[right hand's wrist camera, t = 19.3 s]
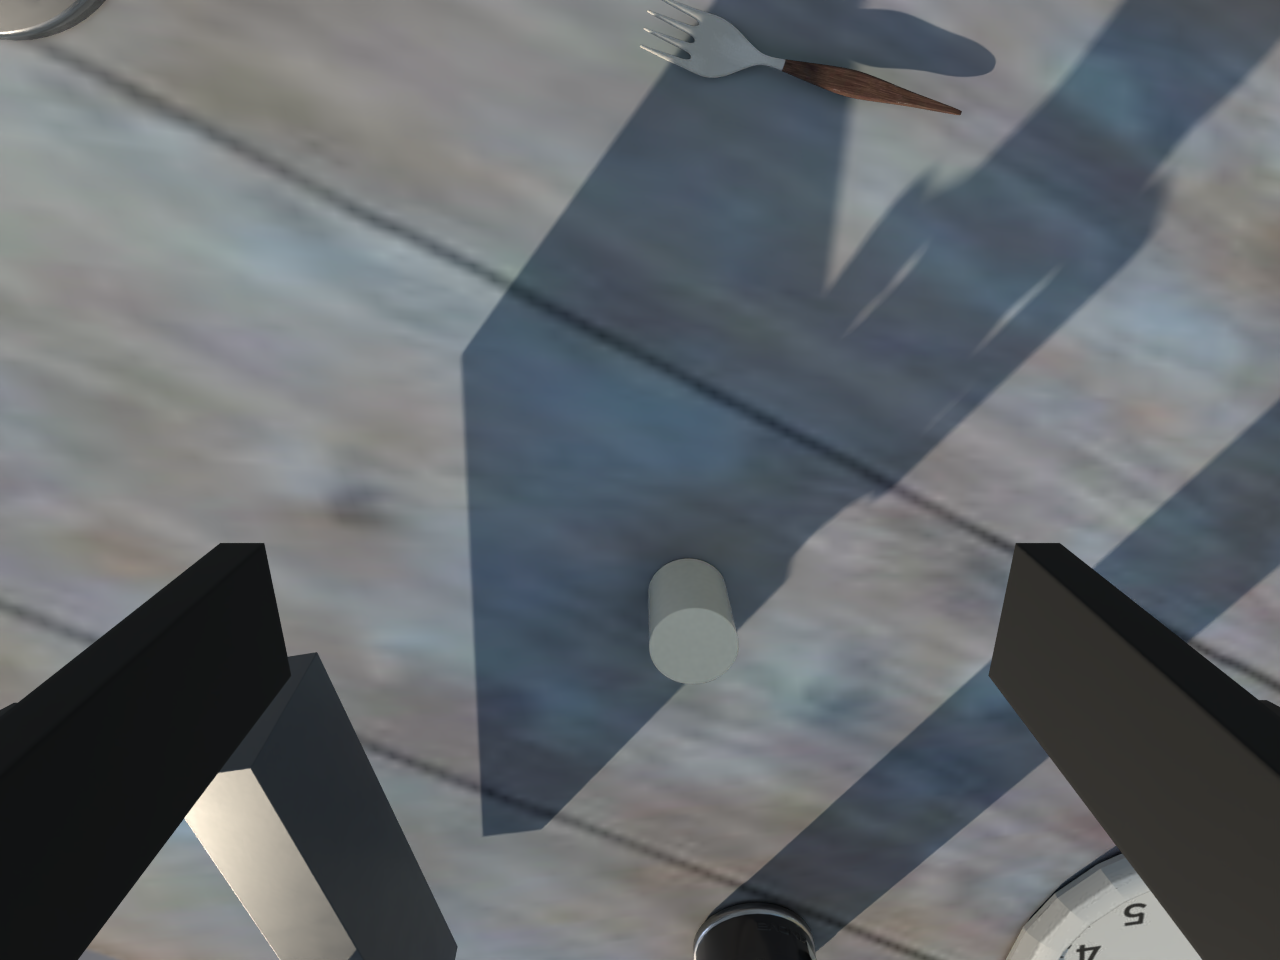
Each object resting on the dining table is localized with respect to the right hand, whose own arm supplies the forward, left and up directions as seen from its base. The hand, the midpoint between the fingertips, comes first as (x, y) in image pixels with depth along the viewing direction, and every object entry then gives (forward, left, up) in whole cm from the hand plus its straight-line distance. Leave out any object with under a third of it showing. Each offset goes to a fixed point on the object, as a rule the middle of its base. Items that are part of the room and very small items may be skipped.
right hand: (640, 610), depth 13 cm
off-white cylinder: (+16, +3, -29) cm, 33 cm away
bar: (+30, -18, -24) cm, 43 cm away
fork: (-13, +8, -29) cm, 33 cm away
